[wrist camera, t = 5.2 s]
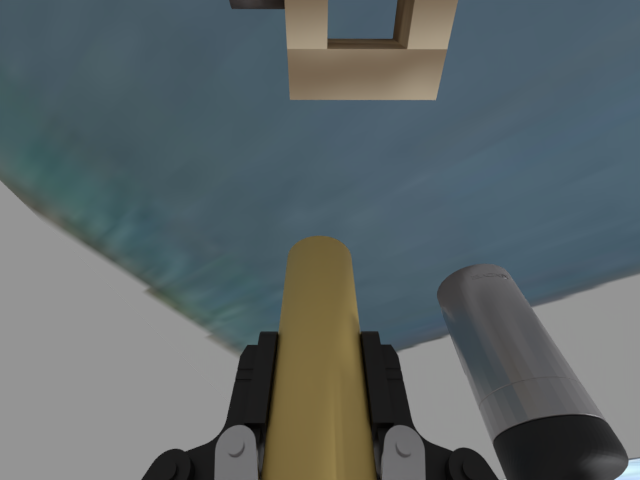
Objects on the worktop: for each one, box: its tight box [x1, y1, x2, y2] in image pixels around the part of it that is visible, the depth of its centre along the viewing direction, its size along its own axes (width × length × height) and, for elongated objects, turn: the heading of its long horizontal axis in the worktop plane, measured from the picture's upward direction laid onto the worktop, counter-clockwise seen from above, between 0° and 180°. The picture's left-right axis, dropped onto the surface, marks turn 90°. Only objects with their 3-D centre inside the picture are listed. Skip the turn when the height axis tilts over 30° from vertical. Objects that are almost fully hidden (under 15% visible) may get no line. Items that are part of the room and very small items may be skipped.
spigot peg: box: [261, 236, 377, 480], centre depth 12 cm, size 4×4×14 cm
